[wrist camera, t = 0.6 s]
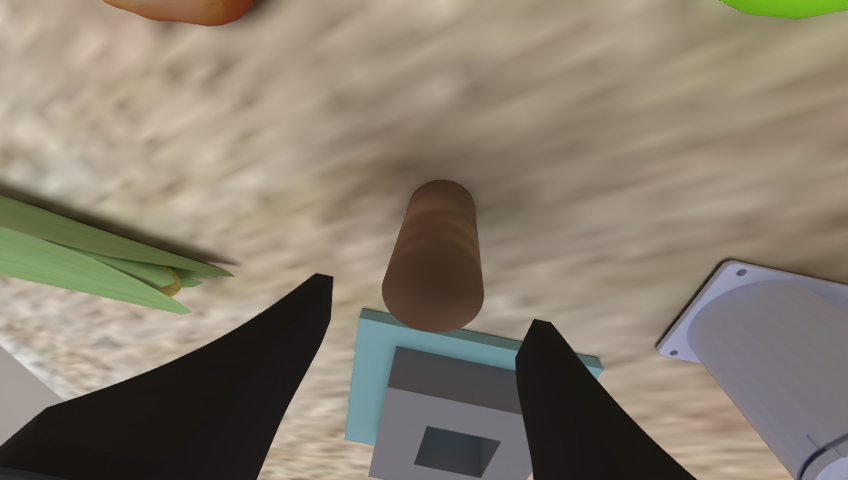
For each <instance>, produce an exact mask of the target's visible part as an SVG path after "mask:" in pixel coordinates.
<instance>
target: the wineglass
mask: <svg viewBox="0 0 848 480" xmlns="http://www.w3.org/2000/svg"><path fill="white" fill-rule="evenodd" d="M720 1H722V2H724V3H726V4H728V5H730V6H732V7H734V8H736V9H738V10H740V11H742V12H744V13H746V14H753V15H763V16H772V17H782V18H791V19H800V18H806V17H811V16H817V15H822V14H828V13H834V12H839V11H845V10H848V0H720Z"/></svg>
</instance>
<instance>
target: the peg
mask: <svg viewBox="0 0 848 480" xmlns="http://www.w3.org/2000/svg"><path fill="white" fill-rule="evenodd" d="M382 296H383V300H384V302H385V305H386V307H387V308H388V310H389V311H390V313H391V314H392V315H393V316H394V317H395V318H396V319H397V320H399V321H400V322H401V323H403V324H405V325H406V326H408V327H410V328H413V329H416V330H419V331H423V332H429V333H443V332H449V331H453V330H456V329H459V328H461V327H463V326H465V325H466V324H468V323H469V322H470V321H472V320H473V319H474V318H475V317H476V316H477V314H478V313H479V311H480V309H481V307H482V304H483V300H484V289H483V280H482V270H481V261H480V251H479V242H478V233H477V223H476V214H475V206H474V202H473V199H472V197H471V195H470V194H469V192H468V191H467V190H466V189H465V188H464V187H462V186H461V185H459V184H457V183H455V182H452V181H449V180H434V181H431V182H428V183H426V184H424V185H422V186H421V187H420V188H418V189H417V190H416V192H415V193H414V194H413V196H412V198H411V200H410V203H409V206H408V209H407V212H406V215H405V218H404V221H403V224H402V227H401V230H400V233H399V236H398V239H397V242H396V245H395V248H394V251H393V254H392V257H391V259H390V262H389V265H388V268H387V271H386V274H385V277H384V280H383V284H382Z"/></svg>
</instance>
